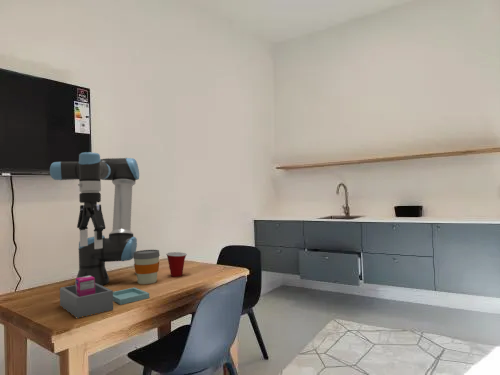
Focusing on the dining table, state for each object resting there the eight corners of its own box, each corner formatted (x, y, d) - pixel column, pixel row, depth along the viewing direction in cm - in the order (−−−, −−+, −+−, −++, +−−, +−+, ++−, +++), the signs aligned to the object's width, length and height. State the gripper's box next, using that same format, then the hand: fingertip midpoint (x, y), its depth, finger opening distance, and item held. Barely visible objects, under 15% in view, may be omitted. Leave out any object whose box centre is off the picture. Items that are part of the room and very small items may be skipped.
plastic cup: (185, 277, 173) (184, 254, 174) (164, 278, 174) (163, 254, 174) (189, 273, 184) (188, 251, 185) (169, 273, 185) (169, 251, 185)
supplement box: (75, 307, 129) (75, 277, 129) (92, 304, 133) (91, 275, 133) (79, 311, 125) (78, 280, 125) (96, 307, 128) (95, 277, 129)
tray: (106, 297, 141) (106, 293, 141) (134, 291, 149) (134, 287, 149) (120, 304, 131) (120, 299, 131) (149, 297, 139) (149, 293, 139)
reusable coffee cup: (164, 279, 172) (164, 249, 173) (152, 285, 160) (151, 253, 160) (142, 278, 175) (142, 249, 175) (128, 284, 163) (128, 253, 163)
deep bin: (60, 305, 132) (59, 287, 132) (93, 298, 141) (92, 281, 141) (77, 318, 117) (76, 298, 117) (113, 309, 125) (112, 290, 125)
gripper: (67, 193, 137) (68, 246, 136) (93, 191, 120) (94, 251, 119) (87, 193, 142) (87, 244, 141) (114, 191, 125) (115, 248, 124)
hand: (90, 247), depth 130 cm, fingers open, 13 cm apart
